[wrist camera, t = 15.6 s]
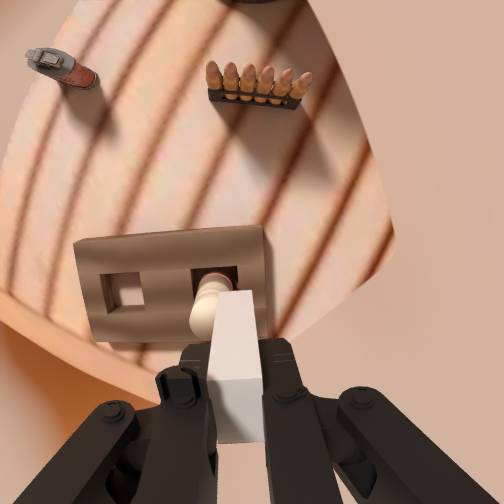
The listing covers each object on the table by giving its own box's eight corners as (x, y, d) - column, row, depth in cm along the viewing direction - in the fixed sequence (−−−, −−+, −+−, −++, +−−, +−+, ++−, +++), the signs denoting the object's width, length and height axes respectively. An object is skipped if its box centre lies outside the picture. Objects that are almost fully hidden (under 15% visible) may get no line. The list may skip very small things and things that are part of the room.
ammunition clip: (209, 100, 35) (198, 70, 24) (210, 87, 35) (201, 52, 23) (295, 110, 36) (320, 84, 25) (296, 96, 36) (321, 66, 24)
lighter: (51, 80, 33) (11, 63, 23) (61, 59, 32) (25, 38, 22) (91, 94, 34) (54, 75, 24) (102, 72, 33) (69, 48, 24)
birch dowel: (199, 267, 40) (185, 303, 29) (231, 264, 40) (230, 300, 29) (202, 297, 41) (191, 342, 30) (234, 295, 41) (234, 340, 30)
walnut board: (82, 238, 39) (73, 243, 36) (260, 224, 39) (262, 228, 36) (101, 332, 42) (94, 341, 39) (265, 326, 43) (267, 337, 40)
